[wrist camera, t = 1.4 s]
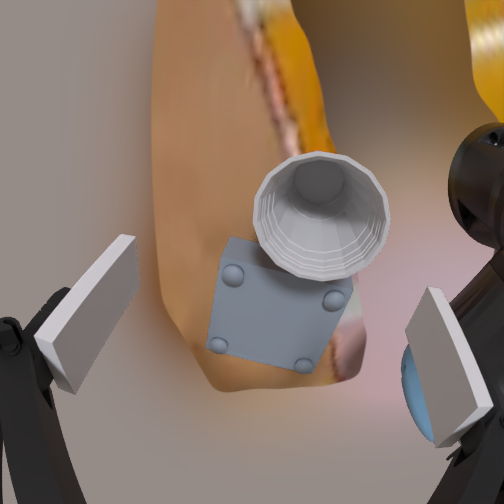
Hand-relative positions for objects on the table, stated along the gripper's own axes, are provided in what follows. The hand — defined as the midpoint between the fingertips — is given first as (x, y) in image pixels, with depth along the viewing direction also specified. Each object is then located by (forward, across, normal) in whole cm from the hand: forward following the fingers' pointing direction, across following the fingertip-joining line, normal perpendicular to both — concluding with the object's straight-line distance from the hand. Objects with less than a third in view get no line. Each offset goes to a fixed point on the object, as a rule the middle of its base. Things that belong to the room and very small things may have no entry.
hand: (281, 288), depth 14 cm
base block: (+23, -2, +19) cm, 30 cm away
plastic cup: (+23, -3, +2) cm, 24 cm away
